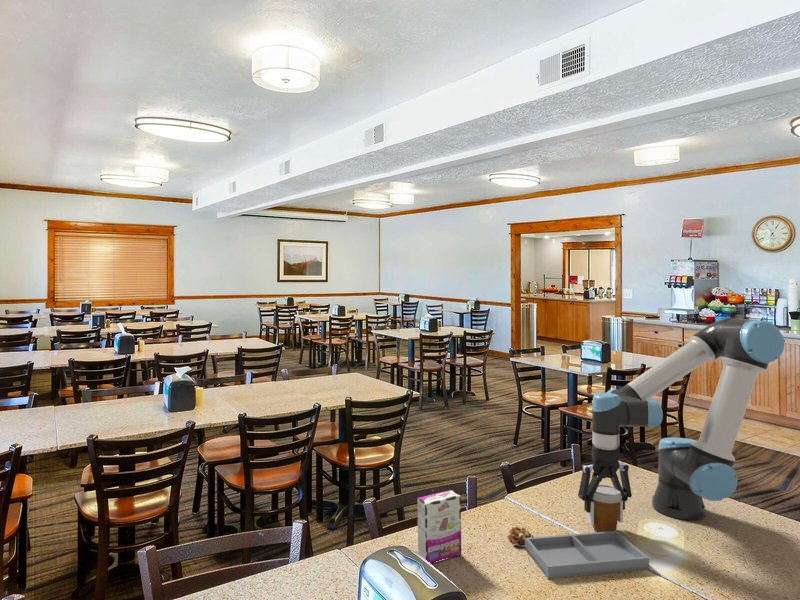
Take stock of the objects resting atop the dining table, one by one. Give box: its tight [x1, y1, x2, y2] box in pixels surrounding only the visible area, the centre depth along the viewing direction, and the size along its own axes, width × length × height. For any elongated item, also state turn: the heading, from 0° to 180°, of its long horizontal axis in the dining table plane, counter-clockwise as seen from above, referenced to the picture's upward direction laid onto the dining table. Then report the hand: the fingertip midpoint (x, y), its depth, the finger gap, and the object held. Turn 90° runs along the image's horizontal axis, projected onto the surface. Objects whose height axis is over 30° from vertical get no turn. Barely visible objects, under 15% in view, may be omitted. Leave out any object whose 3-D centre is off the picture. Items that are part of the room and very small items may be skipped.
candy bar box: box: [416, 489, 462, 565], centre depth 137 cm, size 11×5×16 cm, turn 117°
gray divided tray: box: [524, 530, 650, 579], centre depth 136 cm, size 27×15×3 cm, turn 99°
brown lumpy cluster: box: [506, 525, 534, 548], centre depth 147 cm, size 7×12×4 cm, turn 7°
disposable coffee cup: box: [592, 484, 622, 532], centre depth 152 cm, size 10×10×12 cm
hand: (604, 521), depth 152 cm, fingers closed on disposable coffee cup, 8 cm apart
